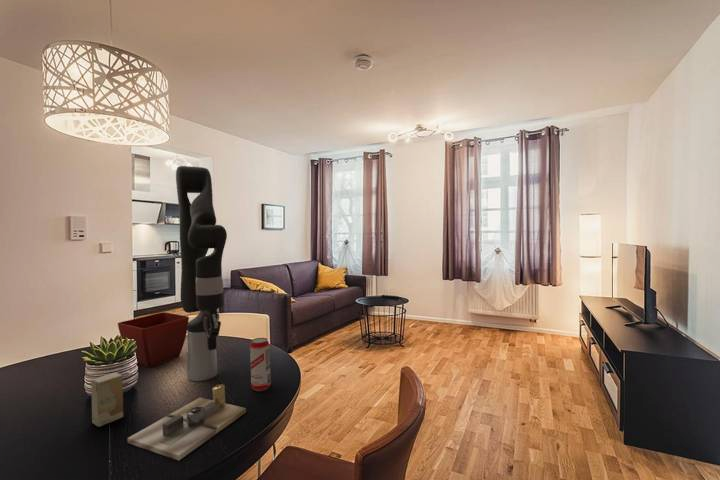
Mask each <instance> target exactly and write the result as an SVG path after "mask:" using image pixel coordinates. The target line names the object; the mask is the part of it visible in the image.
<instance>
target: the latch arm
mask: <svg viewBox="0 0 720 480" xmlns="http://www.w3.org/2000/svg"><path fill="white" fill-rule="evenodd" d="M225 388H226V386H225V384H223V383H221V384H220V383H219V384H216V385H214V386H212V400H213V401H212V402H211V403H209V404H207V405H206V406H204V407H195V408H192V409H190V410H188V411H187V424H188V425H198V424H200V423H202V422H203V421H204V420H205V418H206V417H207V416H209V415H211V414H212V413H214V412H215V411H217V410H218V409H220V408H223V407H224V406H225V403H226V389H225Z"/></svg>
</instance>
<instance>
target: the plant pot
mask: <svg viewBox="0 0 720 480" xmlns="http://www.w3.org/2000/svg"><path fill="white" fill-rule="evenodd" d="M189 320H190V317H189V315H188V316H187V315H183V314H182V315H181V314H177V313H171V312H157V313H154V314H151V315H150V314H148V315H146V316H141V317H138V318H133V319H128V320H123V321H119V322H117V328H118V331H119V335H120V337H121V339H125V338H126V337H127V338H128V339H134V340H135V341H136V345H137V350H136V356H137V361H138V364H137V365H140V366H144V367H146V368H152V367H154V366H155V367H156V366H158V365H160V364H163V363H165V362H168V361H171V360H174V359H177V358H179V357H180V356H181V353H182V350H183V348H184V344H185V340H186V337H187V334H188V333H187V324H188V323H189V322H190V321H189Z"/></svg>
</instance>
